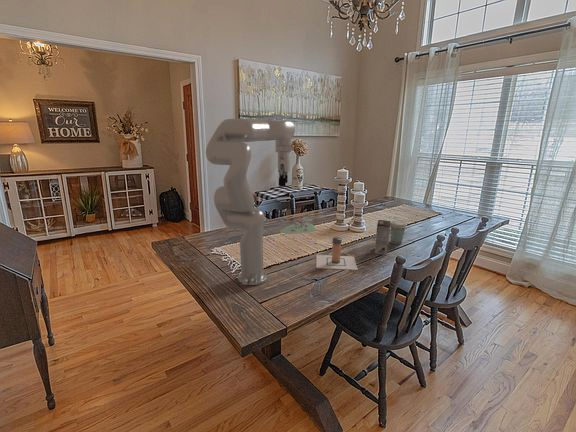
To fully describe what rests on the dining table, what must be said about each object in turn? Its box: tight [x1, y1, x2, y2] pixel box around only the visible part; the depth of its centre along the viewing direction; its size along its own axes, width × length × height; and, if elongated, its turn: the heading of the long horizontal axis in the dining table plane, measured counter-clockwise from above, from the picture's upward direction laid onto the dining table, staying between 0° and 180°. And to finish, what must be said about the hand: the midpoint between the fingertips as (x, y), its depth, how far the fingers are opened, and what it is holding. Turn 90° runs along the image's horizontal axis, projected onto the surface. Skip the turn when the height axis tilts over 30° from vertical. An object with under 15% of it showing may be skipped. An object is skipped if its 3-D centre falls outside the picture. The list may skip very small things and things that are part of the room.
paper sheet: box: [315, 254, 359, 271], centre depth 149 cm, size 15×19×1 cm
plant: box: [279, 215, 317, 235], centre depth 197 cm, size 25×21×9 cm
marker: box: [331, 236, 342, 264], centre depth 147 cm, size 4×4×12 cm
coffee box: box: [374, 219, 392, 256], centre depth 160 cm, size 9×6×16 cm
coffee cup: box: [390, 220, 406, 246], centre depth 173 cm, size 9×8×12 cm
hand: (283, 184), depth 150 cm, fingers open, 9 cm apart
